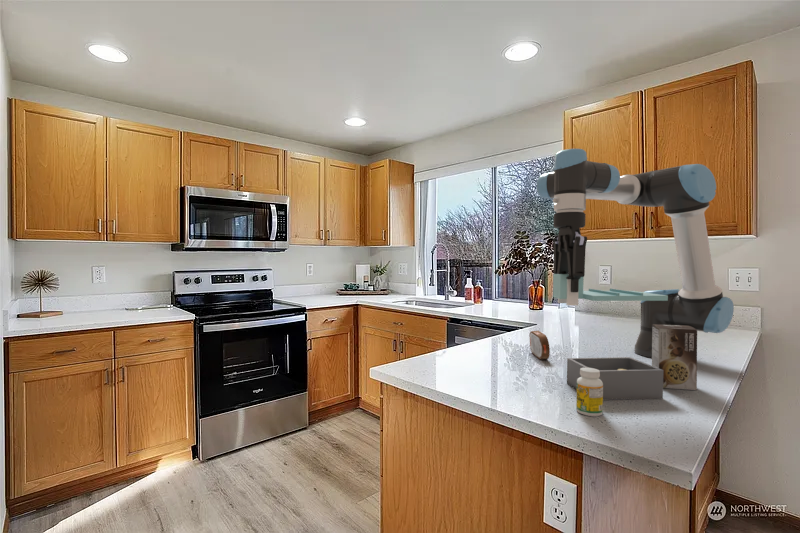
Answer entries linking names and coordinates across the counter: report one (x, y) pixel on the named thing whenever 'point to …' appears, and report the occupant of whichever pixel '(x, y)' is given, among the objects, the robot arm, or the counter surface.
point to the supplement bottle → (589, 392)
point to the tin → (539, 345)
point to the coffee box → (675, 355)
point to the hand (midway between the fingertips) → (567, 303)
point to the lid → (601, 292)
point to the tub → (620, 377)
